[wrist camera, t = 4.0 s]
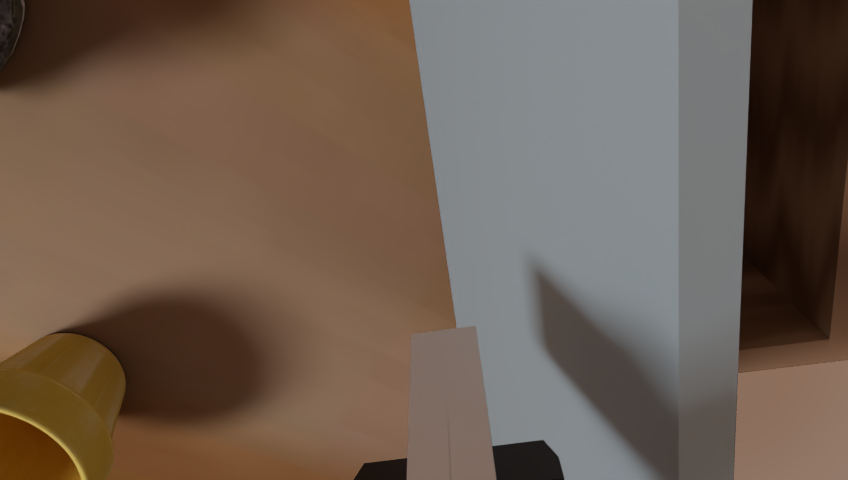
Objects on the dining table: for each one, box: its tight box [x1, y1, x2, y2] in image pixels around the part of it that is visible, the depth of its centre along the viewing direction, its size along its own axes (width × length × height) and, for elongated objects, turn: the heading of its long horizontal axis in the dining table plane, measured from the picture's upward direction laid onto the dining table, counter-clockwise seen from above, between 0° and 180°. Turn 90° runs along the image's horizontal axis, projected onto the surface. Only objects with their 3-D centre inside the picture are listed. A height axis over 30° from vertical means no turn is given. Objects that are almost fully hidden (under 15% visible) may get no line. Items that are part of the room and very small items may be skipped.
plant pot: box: [0, 333, 126, 480], centre depth 41 cm, size 10×10×10 cm
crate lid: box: [409, 0, 753, 480], centre depth 20 cm, size 20×16×1 cm
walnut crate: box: [738, 0, 848, 373], centre depth 33 cm, size 20×16×12 cm
